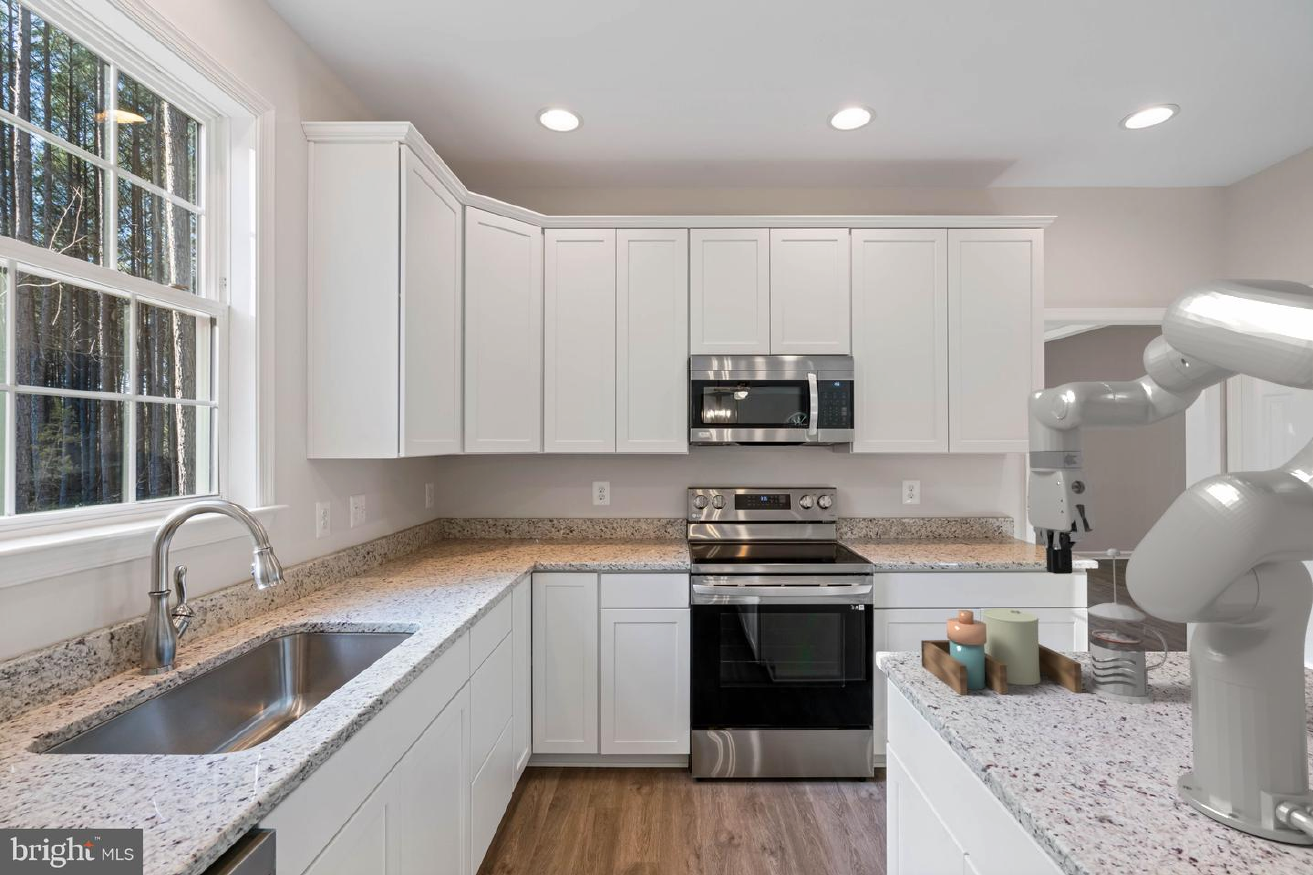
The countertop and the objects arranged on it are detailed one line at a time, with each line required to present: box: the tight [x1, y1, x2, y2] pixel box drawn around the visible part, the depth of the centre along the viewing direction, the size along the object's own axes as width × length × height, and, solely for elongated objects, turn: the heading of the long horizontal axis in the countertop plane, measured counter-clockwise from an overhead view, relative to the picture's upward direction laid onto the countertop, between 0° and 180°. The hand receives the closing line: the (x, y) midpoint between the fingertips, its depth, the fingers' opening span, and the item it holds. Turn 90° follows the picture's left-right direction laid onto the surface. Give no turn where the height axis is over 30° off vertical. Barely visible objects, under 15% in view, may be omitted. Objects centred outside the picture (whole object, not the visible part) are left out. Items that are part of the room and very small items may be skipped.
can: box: [981, 607, 1042, 686], centre depth 110 cm, size 9×9×12 cm
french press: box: [1084, 548, 1169, 705], centre depth 101 cm, size 10×12×25 cm
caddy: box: [920, 639, 1083, 696], centre depth 108 cm, size 14×22×5 cm, turn 91°
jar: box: [950, 640, 987, 691], centre depth 106 cm, size 6×6×8 cm
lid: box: [946, 609, 987, 645], centre depth 106 cm, size 6×6×5 cm
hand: (1059, 572), depth 96 cm, fingers closed
